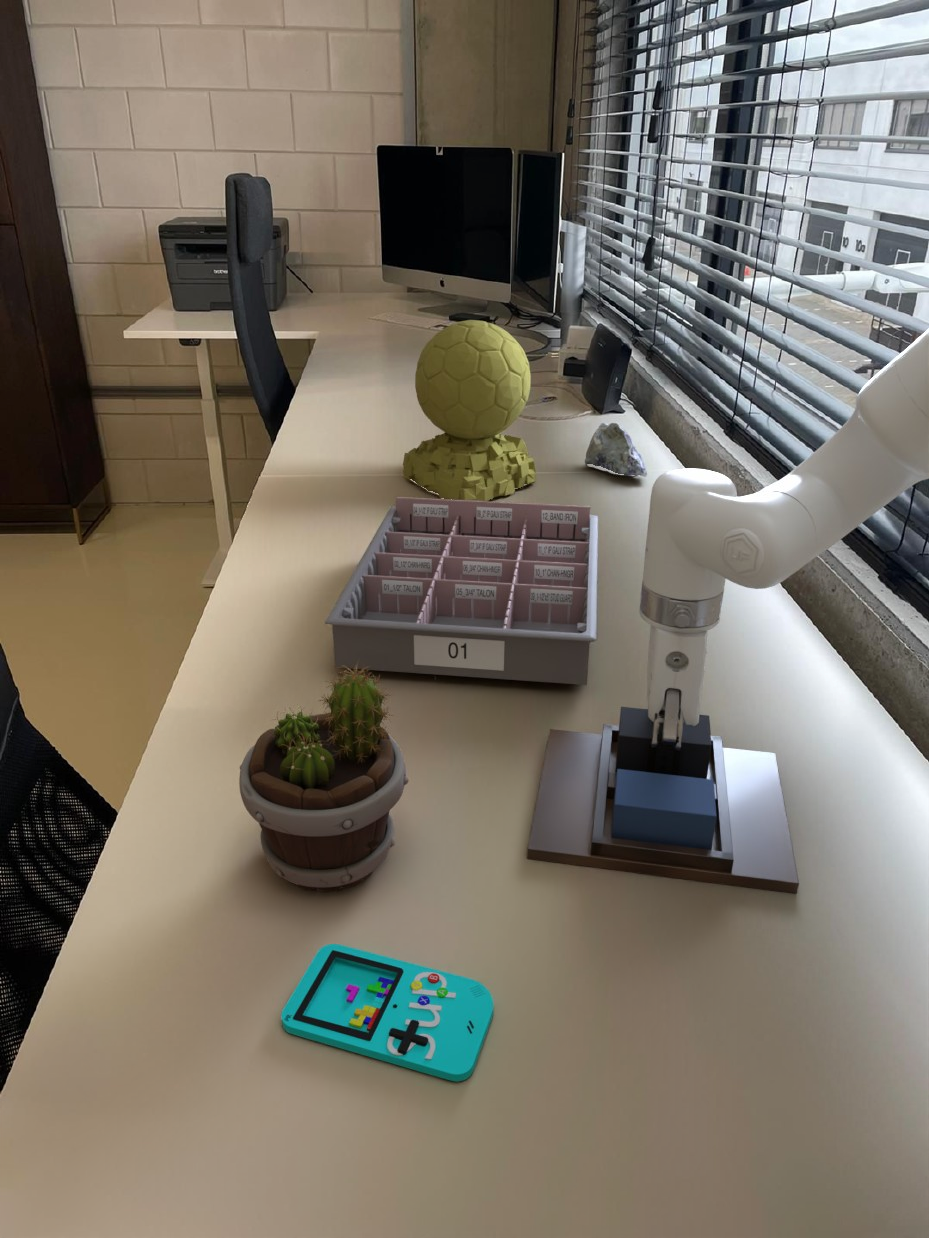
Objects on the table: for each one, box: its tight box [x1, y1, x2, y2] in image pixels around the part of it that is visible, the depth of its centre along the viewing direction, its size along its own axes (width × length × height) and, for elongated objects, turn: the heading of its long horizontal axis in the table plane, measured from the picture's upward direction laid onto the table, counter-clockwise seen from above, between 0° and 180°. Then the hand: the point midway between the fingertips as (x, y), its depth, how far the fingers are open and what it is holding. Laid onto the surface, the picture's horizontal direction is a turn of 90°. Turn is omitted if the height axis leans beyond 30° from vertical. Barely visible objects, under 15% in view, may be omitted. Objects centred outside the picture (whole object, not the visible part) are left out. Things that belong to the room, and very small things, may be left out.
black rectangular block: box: [616, 706, 712, 779], centre depth 97 cm, size 9×6×4 cm, turn 79°
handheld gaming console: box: [280, 943, 494, 1082], centre depth 72 cm, size 8×1×15 cm
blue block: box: [611, 769, 717, 850], centre depth 88 cm, size 9×6×4 cm, turn 79°
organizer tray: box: [324, 496, 599, 686], centre depth 129 cm, size 32×40×10 cm
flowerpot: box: [238, 659, 409, 892], centre depth 83 cm, size 14×15×20 cm
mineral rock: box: [584, 422, 648, 478], centre depth 183 cm, size 13×11×10 cm
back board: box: [526, 723, 800, 894], centre depth 93 cm, size 24×20×3 cm
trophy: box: [402, 319, 537, 501], centre depth 174 cm, size 22×22×30 cm
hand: (661, 757), depth 97 cm, fingers closed on black rectangular block, 5 cm apart
